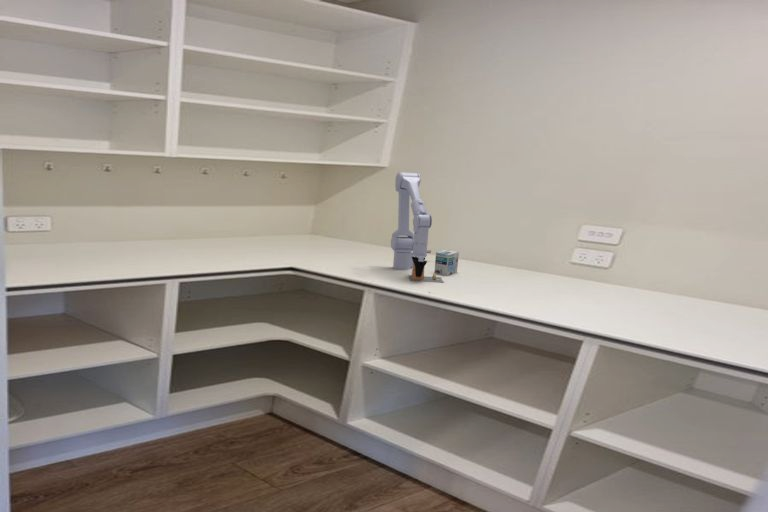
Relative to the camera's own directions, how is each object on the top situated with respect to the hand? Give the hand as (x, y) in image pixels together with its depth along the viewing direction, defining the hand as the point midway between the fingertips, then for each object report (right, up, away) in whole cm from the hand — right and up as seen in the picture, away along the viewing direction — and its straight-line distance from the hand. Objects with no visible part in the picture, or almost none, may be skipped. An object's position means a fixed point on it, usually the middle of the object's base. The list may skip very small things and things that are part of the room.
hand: (417, 275), depth 218 cm
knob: (0, -1, 0) cm, 1 cm away
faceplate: (+3, -3, +1) cm, 4 cm away
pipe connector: (+4, +6, +47) cm, 48 cm away
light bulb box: (+13, -1, +16) cm, 21 cm away
